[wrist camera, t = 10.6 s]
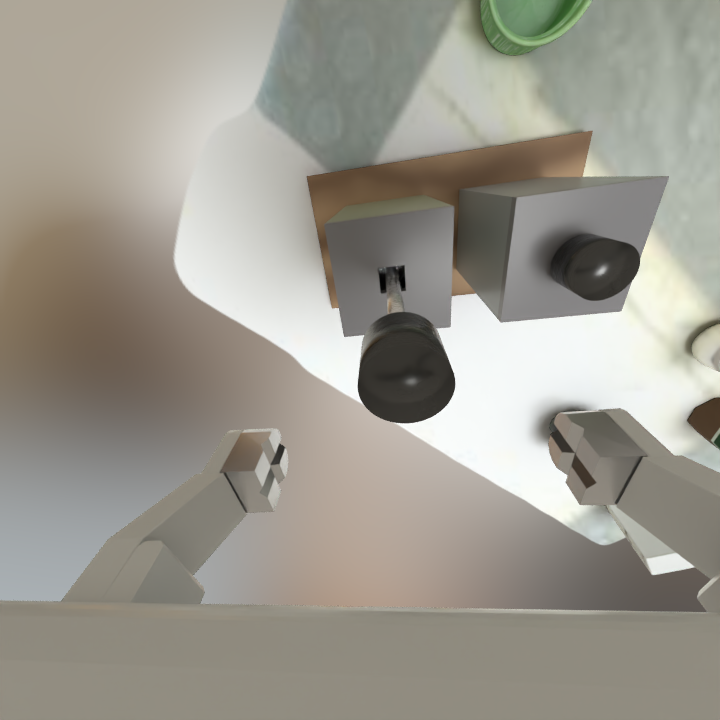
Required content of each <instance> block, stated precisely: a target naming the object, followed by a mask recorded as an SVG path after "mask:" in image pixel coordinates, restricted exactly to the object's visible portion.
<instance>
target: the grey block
mask: <svg viewBox="0 0 720 720" xmlns="http://www.w3.org/2000/svg"><path fill="white" fill-rule="evenodd" d="M668 178H669V176H647V177H541V178H534V179H527V180H520V181H514V182H507V183H500V184H493V185H486V186H479V187H472V188H465V189H459V214H458V239H457V265H456V270H457V271H458V272H459V273H460V274H461V276H462V277H463V278H464V279H465V280H466V282H467V283H468V284H469V285H470V286H471V288H472V289H473V290H474V291H475V292H476V294H477V295H478V296H479V297H480V298H481V300H482V301H483V302H484V303H485V304H486V305H487V307H488V308H489V309H490V310H491V311H492V313H493V314H494V315H495V316H496V317H497V319H498V320H499V321H500V322H511V321H521V320H532V319H543V318H554V317H565V316H576V315H586V314H597V313H608V312H619V311H622V308H623V305H624V302H625V299H626V297H627V294H628V291H629V288H630V285H631V283H630V284H629V285H628V286H627V287H626V288H625V289H623V290H622V291H621V292H619V293H618V294H616V295H614V296H612V297H610V298H608V299H604V300H600V301H590V300H586V299H583V298H582V297H580V296H578V295H577V294H575V293H573V292H572V291H570V290H568V289H566V288H565V287H563V286H561V285H560V284H558V283H557V282H555V281H554V279H553V278H552V276H551V271H550V267H551V262H552V259H553V257H554V255H555V253H556V252H557V250H558V249H559V248H560V247H561V246H562V245H563V244H564V243H565V242H567V241H568V240H570V239H571V238H573V237H575V236H578V235H581V234H595V235H599V236H602V237H606V238H610V239H614V240H618V241H621V242H625V243H629V244H631V245H632V246H634V247H635V248H636V249H637V251H638V253H639V255H640V257H641V254H642V252H643V249H644V246H645V243H646V240H647V237H648V235H649V232H650V229H651V226H652V223H653V221H654V218H655V215H656V212H657V209H658V206H659V204H660V201H661V198H662V195H663V192H664V190H665V187H666V184H667V181H668ZM631 282H632V281H631Z"/></svg>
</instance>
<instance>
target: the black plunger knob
mask: <svg viewBox="0 0 720 720" xmlns="http://www.w3.org/2000/svg"><path fill="white" fill-rule="evenodd" d="M378 270H379V280H380V290H386V292H387V309H388V314H387V315H385V316H383V317H381V318H379V319H378V320H376V321H375V322H374V323H373V324H372V325H371V326H370V327H369V328H368V330H367V331H366V333H365V335H364V338H363V341H362V349H361V359H360V368H359V378H358V392H359V396H360V399H361V401H362V402H363V404H364V405H365V407H366V408H367V409H368V410H369V411H370V412H371V413H373V414H374V415H376V416H378V417H380V418H382V419H384V420H387V421H390V422H395V423H414V422H419V421H423V420H426V419H428V418H430V417H432V416H434V415H436V414H437V413H439V412H440V411H441V410H442V409H443V408H445V406H446V405H447V404H448V403H449V401H450V400H451V398H452V396H453V393H454V390H455V377H454V373H453V370H452V368H451V365H450V362H449V360H448V357H447V354H446V352H445V349H444V347H443V344H442V341H441V339H440V336H439V333H438V331H437V329H436V328H435V326H434V325H433V324H432V323H431V322H430V321H429V320H427V319H426V318H425V317H423V316H421V315H418V314H415V313H411V312H405V309H404V304H403V298H402V293H401V288H405V274H404V265H402V266H393V267H385V268H378Z"/></svg>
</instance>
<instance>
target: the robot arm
mask: <svg viewBox="0 0 720 720" xmlns="http://www.w3.org/2000/svg"><path fill="white" fill-rule="evenodd" d="M554 424H555V426H556V427H557V430H555V431H554V432H553V433H552V434H551V435H550V438H549V443H548V445H549V453H550V455H551V458H552V461H553V462H554V464H555V466H556V467H557V468H558V469H559V470H561V471H562V472H564V473H565V474H567V479H566V484H567V485H568V487H569V488H570V490H571V492H572V493H573V495H574V496H575V498H576V499H577V501H578V503H579V504H580V505H617V506H616V507H617V508H618V509H620V510H621V511H622V512H623V513H625V514H626V515H627V516H629V517H630V518H631V519H633V520H634V521H635V522H637V523H638V524H639V525H640V526H642V527H643V528H644V529H646V530H647V531H648V532H650V533H651V534H652V535H654V536H655V537H656V538H658V539H659V540H660V541H661V542H663V543H664V544H665V545H667V546H668V547H669V548H671V549H672V550H673V551H675V552H676V553H677V554H679V555H680V556H681V557H682V558H684V559H685V560H686V561H688V562H689V563H690V564H692V565H693V566H694V567H696V568H697V569H698V570H700V571H701V572H702V573H703V574H705V575H706V576H707V577H709V578H710V579H711V580H710V581H709V582H708V583H707V584H706V585H705V586H704V587H703V588H702V589H701V590H700V591H699V593H698V596H697V599H698V600H699V602H700V603H701V604H702V606H703V607H704V608H705V610H706V611H707V612H706V613H705V612H654V611H653V612H651V611H596V610H594V611H593V610H538V609H535V610H534V609H479V608H473V609H472V608H421V607H419V608H418V607H363V606H361V607H360V606H303V605H299V606H298V605H243V604H240V605H239V604H200V603H201V601H202V598H203V596H204V593H205V592H204V588H203V586H202V585H201V584H200V583H199V582H198V581H197V580H196V579H195V577H194V576H193V575H194V574H195V573H196V572H197V571H198V570H199V568H200V567H201V566H202V565H203V564H204V563H205V562H206V560H207V559H208V558H209V557H210V556H211V555H212V554H213V552H214V551H215V550H216V549H217V548H218V547H219V546H220V544H221V543H222V542H223V541H224V540H225V539H226V538H227V536H228V535H229V534H230V533H231V532H232V531H233V530H234V528H236V526H237V525H238V524H239V523H240V522H241V521H242V520H243V518H244V517H245V516H246V515H247V514H246V513H256V512H274V511H275V507H276V504H277V501H278V498H279V495H280V492H281V490H280V488H279V485H278V484H279V483H280V482H281V481H282V480H283V479H284V478H285V476H286V472H287V469H288V455H287V451H286V448H285V447H284V446H283V445H281V444H280V440H281V435H280V433H279V430H278V429H247V430H231V431H229V432H227V433H226V434H225V436H224V437H223V439H222V440H221V442H220V444H219V445H218V447H217V449H216V450H215V452H214V454H213V455H212V457H211V459H210V460H209V462H208V463H207V465H206V467H205V469H204V470H203V471H202V473H201V474H196V475H194V476H193V477H192V478H190V479H189V480H188V481H186V482H185V483H184V484H182V485H181V486H179V487H178V488H177V489H175V490H174V491H173V492H171V493H170V494H169V495H168V496H166V497H165V498H163V499H162V500H161V501H159V502H158V503H157V504H155V505H154V506H152V507H151V508H150V509H148V510H147V511H146V512H144V513H143V514H142V515H140V516H139V517H138V518H136V519H135V520H134V521H132V522H131V523H129V524H128V525H127V526H125V527H124V528H123V529H121V530H120V531H119V532H117V533H116V534H115V535H113V536H112V537H111V538H109V539H108V540H107V541H106V543H105V544H104V545H103V547H102V548H101V549H100V550H99V552H98V554H96V556H95V557H94V558H93V560H92V561H91V562H90V564H89V565H88V566H87V568H86V569H85V570H84V572H83V573H82V574H81V576H80V577H79V578H78V579H77V581H76V582H75V584H74V585H73V586H72V587H71V589H70V590H69V591H68V593H67V594H66V595H65V597H64V598H63V599H62V601H60V602H58V601H2V600H1V601H0V720H720V473H719V472H716V471H714V470H712V469H710V468H708V467H706V466H703V465H701V464H699V463H697V462H695V461H692V460H690V459H688V458H686V457H684V456H674V455H673V454H672V453H671V452H670V451H669V450H668V449H667V448H666V447H665V446H663V445H662V444H661V443H660V442H659V441H658V440H657V439H656V438H655V437H654V436H653V435H652V434H650V433H649V432H648V431H647V430H646V429H645V428H644V427H643V426H642V425H641V424H640V423H639V422H638V421H636V420H635V419H634V418H633V417H632V416H631V415H630V414H629V413H628V412H627V411H625V410H623V409H620V408H619V409H604V410H591V411H576V412H560V413H558V414H557V415H556V417H555V420H554Z"/></svg>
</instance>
